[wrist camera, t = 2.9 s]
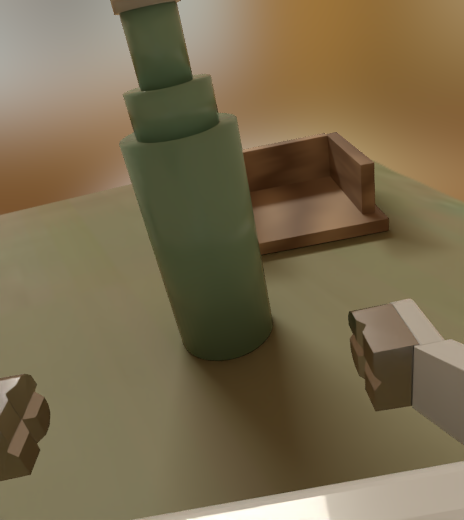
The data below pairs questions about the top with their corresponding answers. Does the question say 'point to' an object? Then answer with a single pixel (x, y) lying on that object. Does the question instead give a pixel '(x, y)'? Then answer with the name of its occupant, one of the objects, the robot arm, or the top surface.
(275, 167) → the u rest
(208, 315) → the bottle
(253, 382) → the top surface
